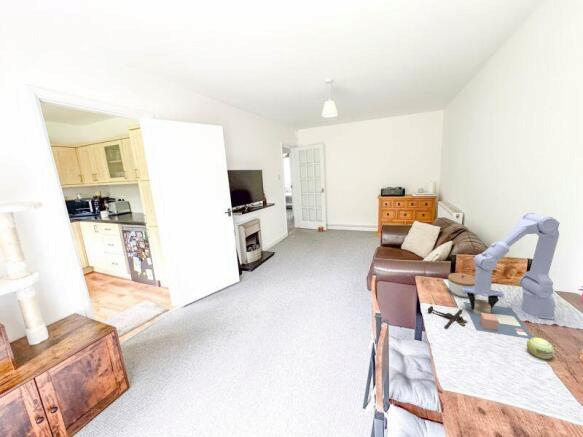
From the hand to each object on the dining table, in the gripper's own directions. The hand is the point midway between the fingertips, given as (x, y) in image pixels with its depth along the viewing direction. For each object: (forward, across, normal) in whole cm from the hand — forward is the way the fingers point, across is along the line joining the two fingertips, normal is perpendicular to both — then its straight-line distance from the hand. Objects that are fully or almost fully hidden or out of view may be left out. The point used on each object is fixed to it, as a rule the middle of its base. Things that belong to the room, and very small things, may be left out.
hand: (480, 309), depth 108 cm
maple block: (+1, 0, 0) cm, 1 cm away
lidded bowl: (+2, -4, +16) cm, 17 cm away
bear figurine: (+2, -14, -8) cm, 17 cm away
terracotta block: (+1, 0, -11) cm, 11 cm away
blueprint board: (+2, +4, -4) cm, 6 cm away
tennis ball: (+2, +11, -23) cm, 26 cm away
